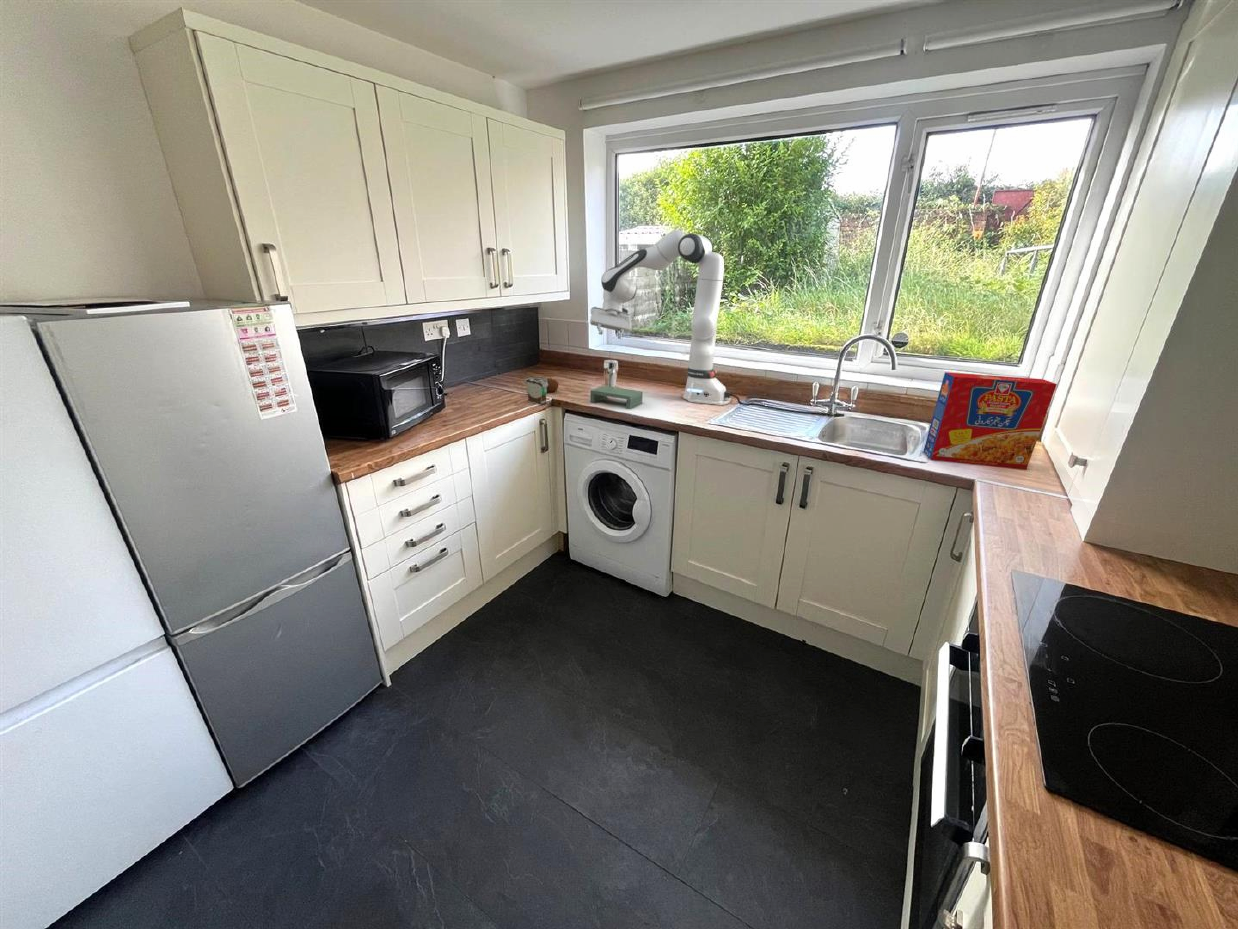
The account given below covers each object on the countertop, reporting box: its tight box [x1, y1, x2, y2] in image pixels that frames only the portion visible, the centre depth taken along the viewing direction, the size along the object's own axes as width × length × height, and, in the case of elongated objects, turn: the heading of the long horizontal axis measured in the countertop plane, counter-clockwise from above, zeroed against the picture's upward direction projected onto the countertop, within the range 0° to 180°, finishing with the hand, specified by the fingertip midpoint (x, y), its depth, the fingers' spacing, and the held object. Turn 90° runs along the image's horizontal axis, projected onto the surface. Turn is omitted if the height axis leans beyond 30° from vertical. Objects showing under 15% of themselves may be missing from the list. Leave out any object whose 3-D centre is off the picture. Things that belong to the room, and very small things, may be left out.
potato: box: [545, 378, 559, 393], centre depth 238 cm, size 6×12×6 cm, turn 151°
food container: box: [525, 377, 548, 406], centre depth 218 cm, size 12×6×10 cm, turn 46°
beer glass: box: [603, 359, 619, 387], centre depth 240 cm, size 7×7×15 cm
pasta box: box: [922, 371, 1058, 471], centre depth 162 cm, size 28×8×28 cm, turn 76°
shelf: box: [589, 385, 644, 410], centre depth 222 cm, size 20×12×6 cm, turn 61°
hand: (610, 335), depth 239 cm, fingers open, 8 cm apart
